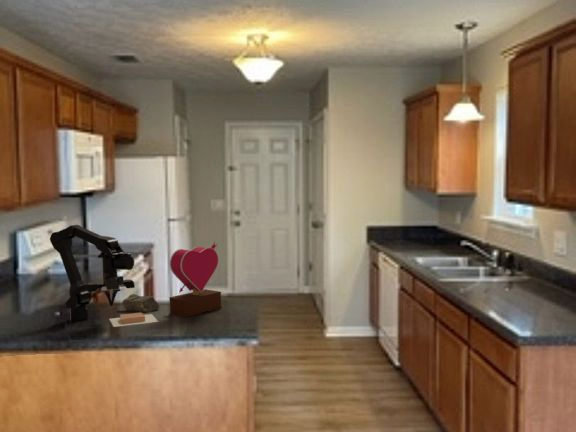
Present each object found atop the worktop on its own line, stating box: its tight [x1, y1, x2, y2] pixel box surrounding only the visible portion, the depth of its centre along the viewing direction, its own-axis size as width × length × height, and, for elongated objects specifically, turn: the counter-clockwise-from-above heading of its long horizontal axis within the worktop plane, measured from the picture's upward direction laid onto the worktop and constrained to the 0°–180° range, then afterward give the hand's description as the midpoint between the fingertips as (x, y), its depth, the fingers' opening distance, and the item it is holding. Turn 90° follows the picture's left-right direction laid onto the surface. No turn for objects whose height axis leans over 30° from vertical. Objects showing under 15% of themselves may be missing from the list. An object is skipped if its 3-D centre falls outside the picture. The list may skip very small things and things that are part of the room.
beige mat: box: [108, 313, 159, 328], centre depth 254 cm, size 18×15×1 cm
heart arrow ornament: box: [168, 242, 223, 318], centre depth 270 cm, size 25×10×30 cm, turn 141°
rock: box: [121, 293, 160, 313], centre depth 273 cm, size 17×7×10 cm
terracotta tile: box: [119, 312, 145, 324], centre depth 254 cm, size 2×8×9 cm
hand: (111, 306), depth 250 cm, fingers closed
